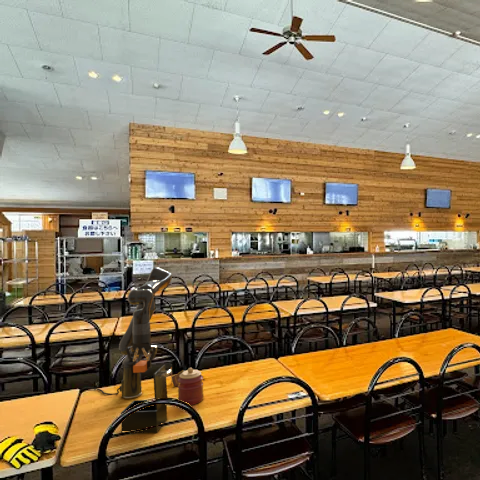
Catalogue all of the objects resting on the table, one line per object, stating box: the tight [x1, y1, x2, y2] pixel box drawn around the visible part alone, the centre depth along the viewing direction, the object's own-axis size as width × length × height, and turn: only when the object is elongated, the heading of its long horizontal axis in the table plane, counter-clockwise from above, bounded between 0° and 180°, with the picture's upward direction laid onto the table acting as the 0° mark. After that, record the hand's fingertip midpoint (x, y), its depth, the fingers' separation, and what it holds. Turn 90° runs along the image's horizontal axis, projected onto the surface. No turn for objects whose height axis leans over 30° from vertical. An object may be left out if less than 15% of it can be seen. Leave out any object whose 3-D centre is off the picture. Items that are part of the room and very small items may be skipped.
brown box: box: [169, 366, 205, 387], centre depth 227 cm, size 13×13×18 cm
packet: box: [133, 359, 149, 373], centre depth 176 cm, size 8×5×3 cm, turn 2°
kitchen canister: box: [177, 367, 204, 406], centre depth 203 cm, size 13×13×18 cm
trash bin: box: [120, 399, 168, 435], centre depth 176 cm, size 16×13×10 cm
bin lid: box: [152, 364, 173, 410], centre depth 176 cm, size 16×13×5 cm
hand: (142, 368), depth 176 cm, fingers closed on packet, 5 cm apart
